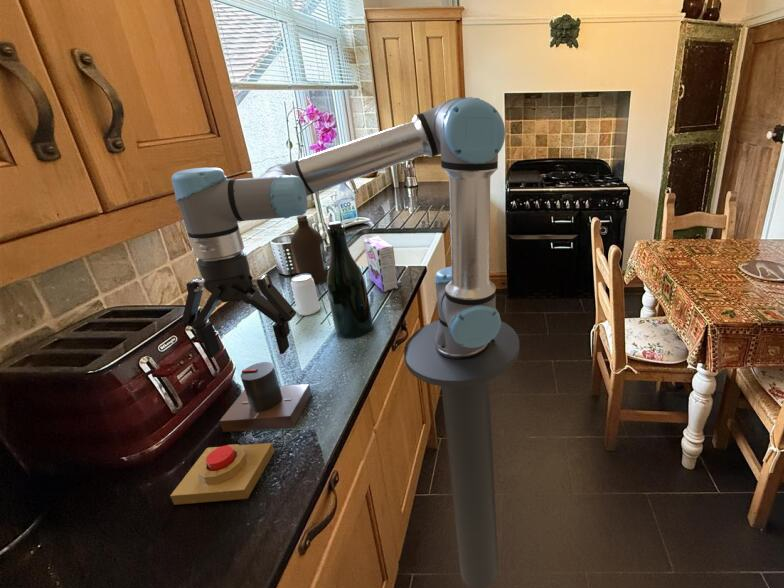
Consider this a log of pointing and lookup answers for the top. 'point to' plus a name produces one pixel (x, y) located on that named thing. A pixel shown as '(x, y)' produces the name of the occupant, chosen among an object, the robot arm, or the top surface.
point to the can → (305, 294)
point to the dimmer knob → (261, 386)
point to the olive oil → (309, 251)
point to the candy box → (381, 263)
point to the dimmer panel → (267, 411)
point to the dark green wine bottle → (346, 287)
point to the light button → (220, 458)
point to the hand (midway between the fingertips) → (250, 352)
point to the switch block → (224, 476)
